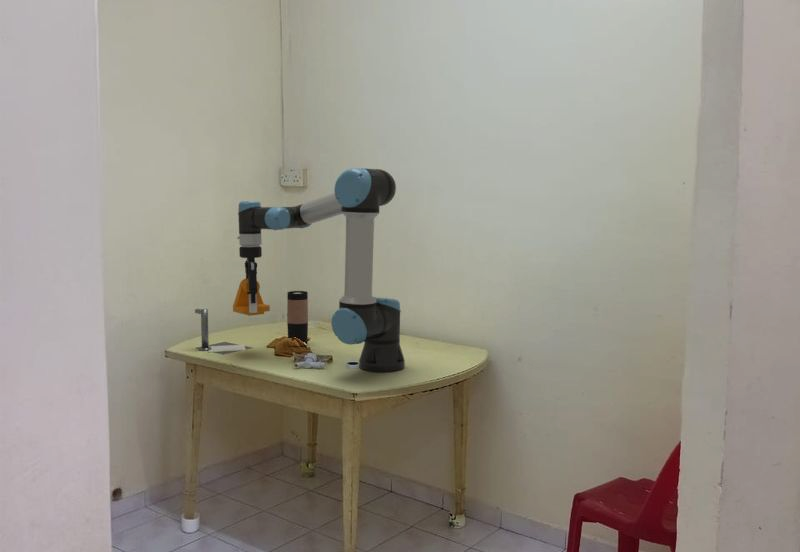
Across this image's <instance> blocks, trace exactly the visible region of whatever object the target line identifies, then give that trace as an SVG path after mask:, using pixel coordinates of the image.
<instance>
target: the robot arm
mask: <svg viewBox="0 0 800 552" xmlns="http://www.w3.org/2000/svg"><path fill="white" fill-rule="evenodd" d="M396 185H397V184H396V181H395V179H394V178H393V176H392V175H391V173H389V172H388V171H386V170H383V169H379V168H363V167H354V168H348V169H346V170H344V171H342V173H340V175H339V176H338V177H337V179H336V181H335V184H334V192H333V193H330V194H327V195H324V196H322V197H318V198H316V199H312V200H310V201H307V202H304V203H301V204H297V205H296V206H265V207H264V206H261V202H260V201H256V200H255V201H253V200H251V201H249V200H246V201H244V200H243V201H240V202H239V203H238V212H237V215H238V235H239V236H237V238H236V239H237V240H238V242H239V247H238V249H239V251H238V252H239V257H240V258H242V259H245V262H244V270H245V279H246V278H247V279H248V281H249V292H247V294H249V313H257V291H258V290H257V281H258V278H257V276H258V275H257V274H258V263H257V262H256V261H255V258H258V259H259V258H261V257H262V253H263V252H262V246H261V245H262V244H263V243H262V230H273V231H281V230H287V229H305V228H309V227H310V226H311V225H312V224H313V223H314V224H315V223H318V222H321V221H324V220H327V219H330V218H335V217H337V216H339V215H343V216H344V217H345V252H344V253H345V257H344V260H345V261H344V294H343V296H341V297H340V298H339V301H338V303H339V304H338V309H337V310H335V312H334V313H333V314H332V317H331V329H332V332H333V333H334V336H336V338H337V339H338V340H339V341H340V342H341V343H343V344H346V345H359V344H362V343H364V345H363V348H362V351H361V354H360V357H359V360H358V367H359V368H360V369H361V370H365V371H367V372H368V371H369V372H375V373H385V372H386V373H387V372H388V373H389V372H397V371H400V370H403V369H404V368H405V365H406V364H405V362H406V361H405V357H404V353H403V351H402V347H401V344H400V343H401V341H400V340H401V339H400V338H401V332H400V331H401V311H402V310H401V308H400V307H401V304H400V303H401V302H400V301H399V300H398V299H395V298H390V297H389V298H388V297H387V298H386V297H375V296H374V297H373V272H374V271H373V270H374V265H373V264H374V263H373V262H374V237H375V236H374V234H375V218H377V216H378V215H379V214H380V207H382V206H385V205H387V204H389V203H390V202H391V201H392V200H393V199H394V197H395V194H396V192H397V186H396Z"/></svg>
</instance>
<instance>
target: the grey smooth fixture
mask: <svg viewBox="0 0 800 552" xmlns="http://www.w3.org/2000/svg"><path fill="white" fill-rule="evenodd" d="M194 313H195V314H198V315H200V325H201V327H200V328H201V346H199V347H200V348H199V349H198V351H201V352H208V350H211V349H212V348H211V347H209V345H210V344H209V342H210V340H209V308H202V309H201V308H195V309H194Z"/></svg>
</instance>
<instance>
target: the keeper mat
mask: <svg viewBox="0 0 800 552" xmlns="http://www.w3.org/2000/svg"><path fill="white" fill-rule="evenodd" d="M200 347H201V346H198V347H194V349H196V350H199V348H200ZM209 347H211V348H212V349H211V350H208V351H207V352H208V353H215V354H219V355H228V354H232V353H237V352H241V351H246V350H251V349H254V347H252V346H248V345H247V346H246V345H245V344H237V343H231V342H227V341H223V342H216V343H213V344H209Z"/></svg>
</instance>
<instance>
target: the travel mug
mask: <svg viewBox="0 0 800 552" xmlns="http://www.w3.org/2000/svg"><path fill="white" fill-rule="evenodd" d="M308 292H309V291H304V290H291V291H290V290H289V291H287V294H286V295H287V296H286V297H287V298H286V300H287V305H286V306H287V307H286V308H287V309H286V310H287V314H286V317H287V318H286V319H287V320H286V321H287V322H286V324H287V339H288V338H291V337H296V338H298V339H300V340H301V341H303V342H305V343H306V344H307V345H308V337H309V336H308V335H309V334H308V333H309V313H308V312H309V305H308V303H309V299H308V296H309V295H308Z"/></svg>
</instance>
